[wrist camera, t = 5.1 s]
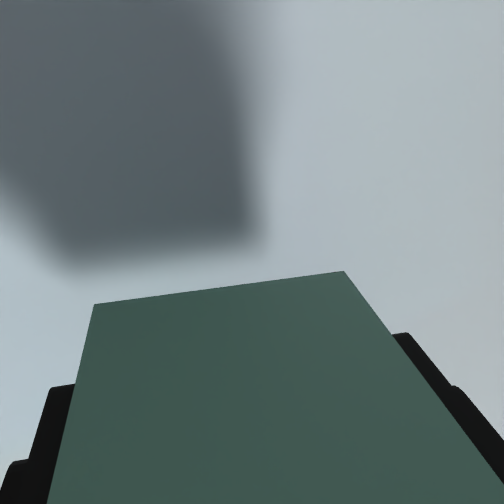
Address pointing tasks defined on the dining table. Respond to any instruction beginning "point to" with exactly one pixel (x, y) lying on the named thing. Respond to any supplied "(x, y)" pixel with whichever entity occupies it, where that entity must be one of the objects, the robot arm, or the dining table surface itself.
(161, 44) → the dining table surface
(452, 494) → the green rectangular block
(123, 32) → the dining table surface
